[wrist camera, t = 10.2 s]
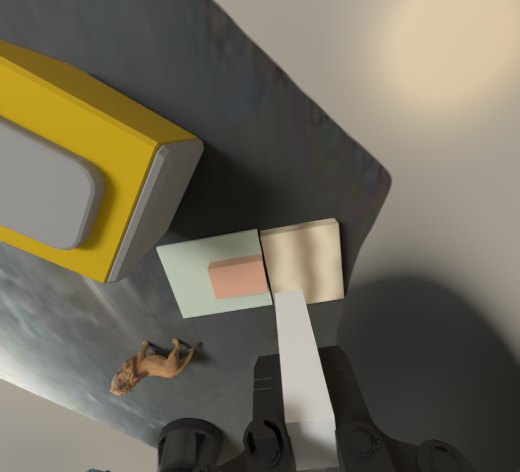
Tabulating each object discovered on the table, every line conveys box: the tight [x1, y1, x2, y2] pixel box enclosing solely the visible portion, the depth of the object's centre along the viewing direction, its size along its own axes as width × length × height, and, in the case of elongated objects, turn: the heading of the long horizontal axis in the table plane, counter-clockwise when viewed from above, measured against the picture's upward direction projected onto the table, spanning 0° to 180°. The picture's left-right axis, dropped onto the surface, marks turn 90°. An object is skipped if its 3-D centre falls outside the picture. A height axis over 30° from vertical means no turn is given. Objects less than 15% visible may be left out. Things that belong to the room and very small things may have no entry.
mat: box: [156, 229, 272, 318], centre depth 44 cm, size 17×15×1 cm
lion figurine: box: [110, 338, 199, 396], centre depth 47 cm, size 15×5×9 cm, turn 102°
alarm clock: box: [0, 39, 204, 283], centre depth 28 cm, size 20×16×18 cm
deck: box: [260, 218, 344, 309], centre depth 42 cm, size 12×14×2 cm
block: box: [207, 254, 268, 299], centre depth 43 cm, size 9×6×2 cm, turn 100°
